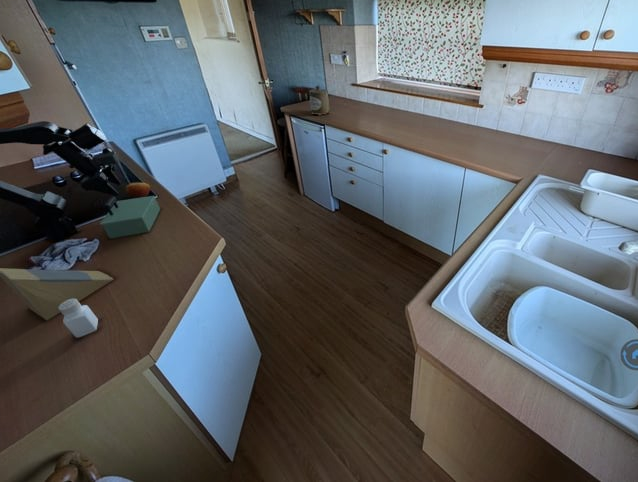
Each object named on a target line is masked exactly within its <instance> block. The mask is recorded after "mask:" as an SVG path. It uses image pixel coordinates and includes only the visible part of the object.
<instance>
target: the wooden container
mask: <svg viewBox="0 0 638 482" xmlns="http://www.w3.org/2000/svg"><path fill="white" fill-rule="evenodd" d="M328 91H329V90H328V89H326V88H321V86H320V85H316V86H315V89H314V88H313V89H310V90H308V93H309V102H310V103H309V104H310V111H312V112H313V113H325V112H328V111H329V110H330V99H329V92H328ZM312 112H311V113H312Z"/></svg>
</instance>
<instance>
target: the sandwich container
mask: <svg viewBox="0 0 638 482" xmlns="http://www.w3.org/2000/svg"><path fill="white" fill-rule="evenodd" d="M0 278H1V279H2V280H3V282H5V283H6V284H7V286H9V288H10V289H11V290H12V291H13V292H14V293H15V294H16V296H18V297H19V298H20V300H21V301H22V302H23V303H24V304H25V305H26V306H27V307H28V308H29V309H30V310H31V311H32V312H34V313H35V314H36V315H38V316H39V317H41V318H42V319H44V320H45V321H49V320H50V319H52V318H54V317H55V316H57V315H59V314H61V311H60V310H59V308H58V307H59V306H60V304H62V303H63V302H64V301H67V300H69V299H77V300H78V302H80V301H82V300H83V299H85V298H86V297H88V296H90V295H92V294H93V293H94V292H96V291H98V290H100V289H101V288H102V287H104V286H106V285H108V284H109V283H111V282H112V281H114V278H113V277H112V276H110V275H108V274H107V273H104V272H102V271H100V270H69V269H68V270H67V269H63V270H62V269H31V268H29V269H28V268H4V267H3V268H1V267H0Z"/></svg>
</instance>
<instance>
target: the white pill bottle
mask: <svg viewBox="0 0 638 482" xmlns="http://www.w3.org/2000/svg"><path fill="white" fill-rule="evenodd" d="M58 308H59V310H60V311H61V312H60V314H62V315H63V318H62V319H63V320H62V323H63V325H65V327H67V329H68V330H69V331H70V333H72V335H73V336H74V337H75V338H76V339H78V338H81V337H84V336H86V335H90V334H92V333H95V332H96V331H97V330H98V325H99V324H98V323H99V319H98V317H97V316H96V315H95V314H94V312H93V310H92V309H91V308H90V307H89V305H87V304H83V305H82V304H81V303H80V301H78V300H77V299H69V300H67V301H64V302H63V303H62V304H60V306H59V307H58Z"/></svg>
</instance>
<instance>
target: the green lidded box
mask: <svg viewBox="0 0 638 482" xmlns="http://www.w3.org/2000/svg"><path fill="white" fill-rule="evenodd" d="M160 211H161V208H160V206H159V203H158V201H157V199H156V197H154V199H153V201H152V203H151V204H150V206H149V208H148V210H147V212H146V213H145V215H144V217H143V219H137V220H131V221H125V222H119V223H113V224H107V225H101V226H102V227H103V230H104V231H105V233H106V234H107V236H108V238H109V239H116V238H122V237H128V236H133V235H138V234H145V233H149V232H150V231H151V229H152V227H153V225H154V223H155V221H156V219H157V217H158V215H159V213H160Z"/></svg>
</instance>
